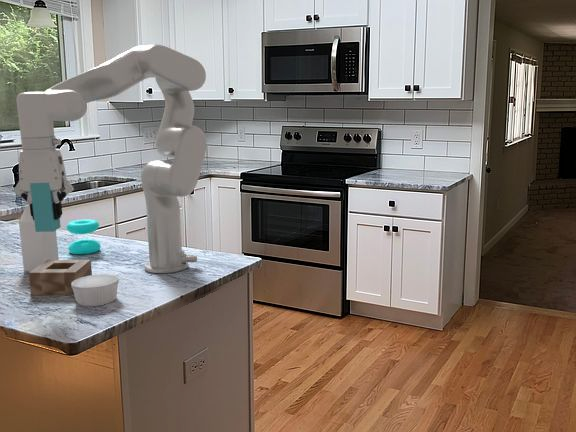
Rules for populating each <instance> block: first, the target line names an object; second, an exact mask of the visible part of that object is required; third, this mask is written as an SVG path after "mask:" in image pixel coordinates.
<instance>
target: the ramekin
mask: <svg viewBox="0 0 576 432" xmlns="http://www.w3.org/2000/svg"><path fill="white" fill-rule="evenodd" d="M119 282H120V281H119V278H118V276H117V275H114V274H105V273H103V274H92V275H90V276H85V277H82V278H79V279H76V280H74V281H73V282H72V283H71V287H72V289H73V292H74V295H73V296H74V298H75V302H76V303H77V304H78V305H80V306H83V307H99V305H100V306H105V305H108V304H110V302H111V303H112V302H114V301H115V300H116V298H117V296H118V288H119V287H118V285H119ZM104 304H105V305H104Z"/></svg>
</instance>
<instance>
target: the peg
mask: <svg viewBox="0 0 576 432" xmlns="http://www.w3.org/2000/svg"><path fill="white" fill-rule="evenodd" d="M30 188H31V197H32V205H33V214H34V222H35V231H36V232H50V231H55V230H56V231H57V230H59V228H61V218H59V219H57V220H55V219H54V213H53V203H54V200H53V197H52V194H51V191H50V187H49V183H30Z"/></svg>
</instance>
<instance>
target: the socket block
mask: <svg viewBox="0 0 576 432" xmlns="http://www.w3.org/2000/svg"><path fill="white" fill-rule="evenodd" d="M92 270H93V269H92V260H91V259H59V260H47V261H45V262H44V263H42V264H41V265H39V266H38V267H36V268H35V269H33V270H32V271H30V272H28V279H29V281H28V282H29V290H30V296H70V295H71V296H75V295H74V292H73V289H72V287H71V283H72V282H73V281H74V280H76V279H79V278H82V277H85V276H90V275H93V273H92Z"/></svg>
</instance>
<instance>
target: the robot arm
mask: <svg viewBox="0 0 576 432" xmlns="http://www.w3.org/2000/svg"><path fill="white" fill-rule="evenodd" d="M150 78H151V79H152V78H154V79H155V82H156V85H157V86H158V88H159V89H160V91H161V93H162V95H163V98H164V110H163V115H162V118H161V123H160V125H159V129H158V132H157V136H156V140H155V148H156V151H157V152H158V153H159V154H160V155H161V156H164V157H168V158H172V159H173V161H172V160H171V161H170V160H163V159H158V160H152V161H150V162H147V163H146V165H144V167H143V168H142V171H141V174H140V180H141V181H140V182H141V186H142V191H143V195H144V200H145V207H146V225H147V243H148V260H149V261H148V262H146V263H144V270H145V271H146V272H149V273H152V274H171V273H177V272H181V271H184V270H186V269H187V268H188V267H189V263H197V262H198V256H197V255H195V254H186V253H185V249H183V244H182V242H183V241H182V225H181V224H182V223H181V221H182V220H181V207H180V202H179V199H178V197H179V198H180V197H183V198H184V197H187V196H189V195H190V194H191V193H193V191H194V190H195V188H196V186H197V184H198V181H199V178H200V174H201V171H202V168H203V167H202V166H203V164H204V161H205V160H204V159H205V156H206V152H207V146H208V145H207V138H206V135H205V133H204V131H203V130H202V129H201V128H200V127H199V126H197V125H193V120H194V116H195V104H194V101H193V98H192V96H191V92H192V91H193V92H194V91H197V90H199V89H201V88H203V86H204V84H205V82H206V79H207V73H206V69H205V68H204V66H203V64H202V63H201V62H200V61H199V60H197V59H195V58H193V57H191V56H189V55H187V54H183V52H182V53H181V51H180V52H179V51H178V50H175V49H172V48H170V47H167V46H165V45H162V44H158V43H157V44H147V45H145V44H144V45H137V46H135V47H131V49H129V50H127V51H125V52H122V53H120V54H118V55H117V56H115V57H113V58H112V59H109V60H107V61H105V62H104V63H102V64H99V66H95V67H93V68H91V69H89V70H86V71H84V72H82V73H79V74H76V75H75V76H72V77H70V78H67V79H64V80H63V81H61V82H59V83H57V84H55V85H53V86H51V87H50V88H47V89H46V90H44V91H27V92H20V93H18V94H17V95H16V108H17V115H18V123H19V124H18V125H19V133H20V143H21V148H22V149H21V150H20V151H19V158H18V179H19V180H18V182H17V183H16V186H15V187H14V188H13V193H15V194H16V195H18V196H20V197H21V198H22V199H23V200H24V201H26V204H28V205H29V206H30V213H31V216H32V217H33V220H34V214H33V205H32V197H31V188H30V183H49V187H50V191H51V194H52V197H53V200H54V203H53V213H54V219H55V220H57V219H59V218H60V219H61V218H62V215H63V208H62V207H63V206H62V205H63V204H62V201H63V200H64V199H65V198H66V197H67V196H68V195H69V194H70V193H71V192H73V191H74V190H75V188H74V186H73V185H72V184H71V183H70V181H69V180H68V179H67V172H66V168H65V164H64V159H63V155H62V152H61V150H60V149H59V148H57V147H58V146H61V144H62V140H61V138H57V137H56V136H55V130H54V129H55V127H54V122H55V121H57V122H59V121H60V122H76V121H78V120H80V119H82V118H83V117H84V115H86V113H87V110H88V103H91V102H96V101H100V100H106V99H109V98H113V97H116V96H119V95H120V94H122V93H124V92H126V91H127V90H129V89H131V88H132V87H134V86H135V85H138V84H139V83H141V82H143V81H144V80H147V79H150ZM61 189H64V190H62V191H61Z"/></svg>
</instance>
